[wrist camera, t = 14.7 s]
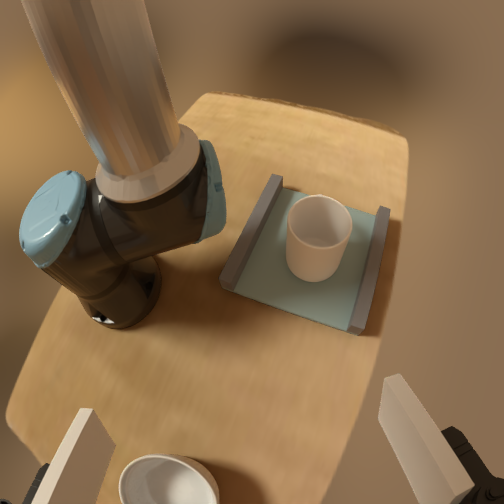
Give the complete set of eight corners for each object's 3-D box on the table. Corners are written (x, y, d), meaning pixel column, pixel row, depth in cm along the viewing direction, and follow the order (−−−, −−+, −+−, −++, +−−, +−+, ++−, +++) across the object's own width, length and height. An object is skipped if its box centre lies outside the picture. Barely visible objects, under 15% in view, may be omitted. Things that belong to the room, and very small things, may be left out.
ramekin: (239, 468, 33) (232, 479, 27) (211, 536, 27) (200, 554, 21) (153, 434, 36) (132, 437, 30) (130, 501, 30) (108, 511, 24)
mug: (340, 223, 50) (352, 181, 41) (336, 287, 45) (352, 253, 35) (291, 217, 52) (294, 173, 42) (281, 280, 46) (282, 244, 37)
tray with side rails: (357, 335, 41) (364, 329, 38) (222, 288, 47) (218, 278, 44) (384, 221, 51) (390, 209, 48) (272, 186, 56) (272, 173, 53)
